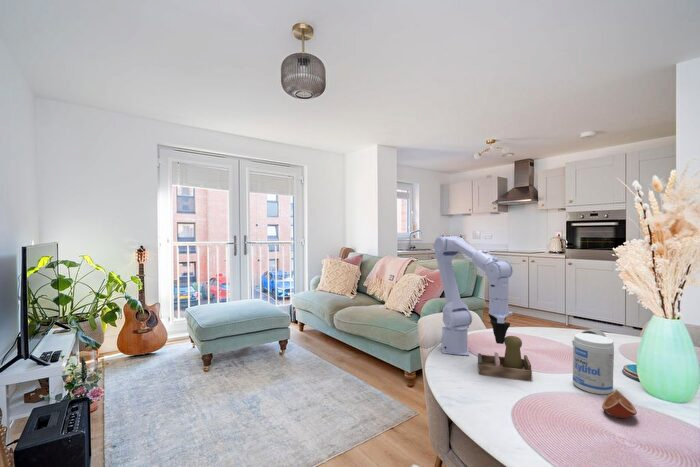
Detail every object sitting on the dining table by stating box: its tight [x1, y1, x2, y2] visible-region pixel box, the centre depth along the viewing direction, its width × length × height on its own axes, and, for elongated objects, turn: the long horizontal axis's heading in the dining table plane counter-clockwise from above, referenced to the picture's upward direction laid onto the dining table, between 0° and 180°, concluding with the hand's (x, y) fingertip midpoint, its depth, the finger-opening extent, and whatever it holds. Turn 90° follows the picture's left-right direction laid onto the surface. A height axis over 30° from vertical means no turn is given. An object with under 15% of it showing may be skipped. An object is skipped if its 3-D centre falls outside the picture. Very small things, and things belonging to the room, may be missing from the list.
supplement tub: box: [572, 332, 615, 395], centre depth 97 cm, size 10×10×15 cm
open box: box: [477, 352, 533, 382], centre depth 109 cm, size 15×10×5 cm, turn 71°
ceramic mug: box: [571, 328, 607, 345], centre depth 130 cm, size 11×8×8 cm
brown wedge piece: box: [601, 389, 638, 419], centre depth 83 cm, size 8×7×5 cm
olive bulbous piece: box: [503, 335, 523, 369], centre depth 108 cm, size 6×6×11 cm
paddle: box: [494, 352, 500, 367], centre depth 110 cm, size 1×8×4 cm, turn 161°
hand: (498, 339), depth 109 cm, fingers open, 7 cm apart
